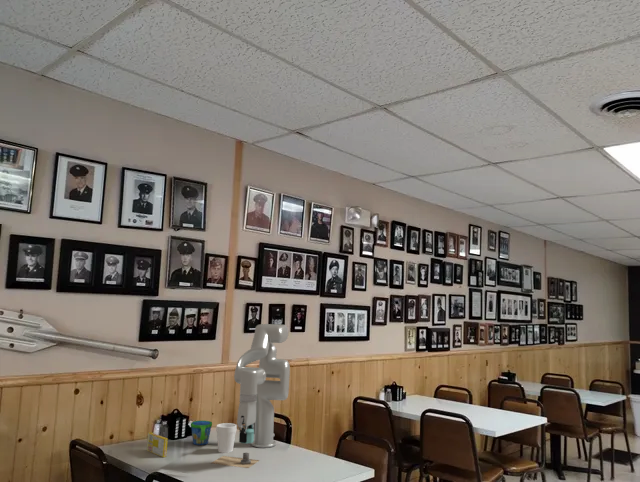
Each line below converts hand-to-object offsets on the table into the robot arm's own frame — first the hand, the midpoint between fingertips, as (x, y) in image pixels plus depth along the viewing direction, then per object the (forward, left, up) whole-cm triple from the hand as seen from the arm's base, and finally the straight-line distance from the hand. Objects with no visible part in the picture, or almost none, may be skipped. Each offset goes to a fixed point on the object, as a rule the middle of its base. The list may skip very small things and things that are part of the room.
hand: (246, 440), depth 229 cm
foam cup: (-14, -17, -11) cm, 25 cm away
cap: (0, 0, -1) cm, 1 cm away
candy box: (-3, -47, -11) cm, 49 cm away
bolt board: (0, -5, -11) cm, 12 cm away
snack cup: (-26, -37, -11) cm, 47 cm away
